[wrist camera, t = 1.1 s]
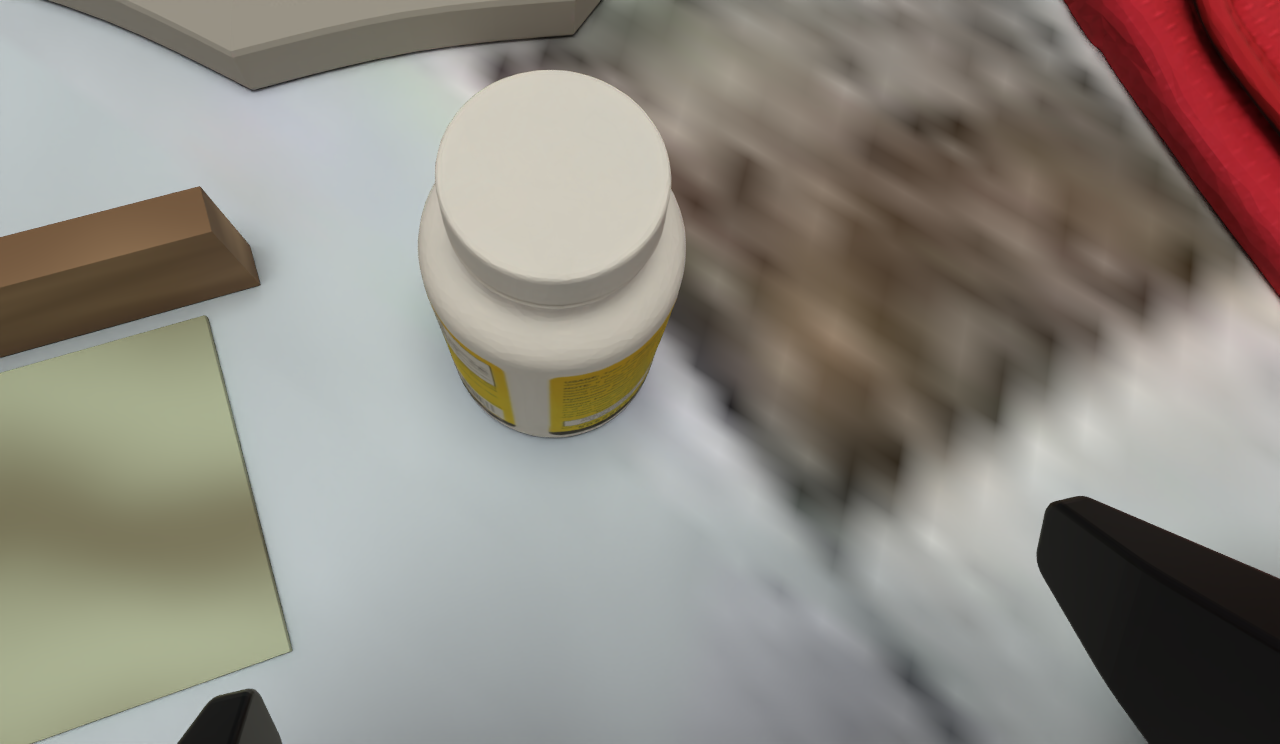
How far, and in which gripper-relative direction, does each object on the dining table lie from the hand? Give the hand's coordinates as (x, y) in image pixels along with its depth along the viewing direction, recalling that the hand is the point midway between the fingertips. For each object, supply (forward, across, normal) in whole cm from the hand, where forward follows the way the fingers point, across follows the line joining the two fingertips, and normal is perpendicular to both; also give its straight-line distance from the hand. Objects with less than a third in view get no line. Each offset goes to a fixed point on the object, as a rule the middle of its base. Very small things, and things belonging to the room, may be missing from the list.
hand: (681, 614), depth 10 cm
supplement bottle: (+14, 0, +4) cm, 15 cm away
